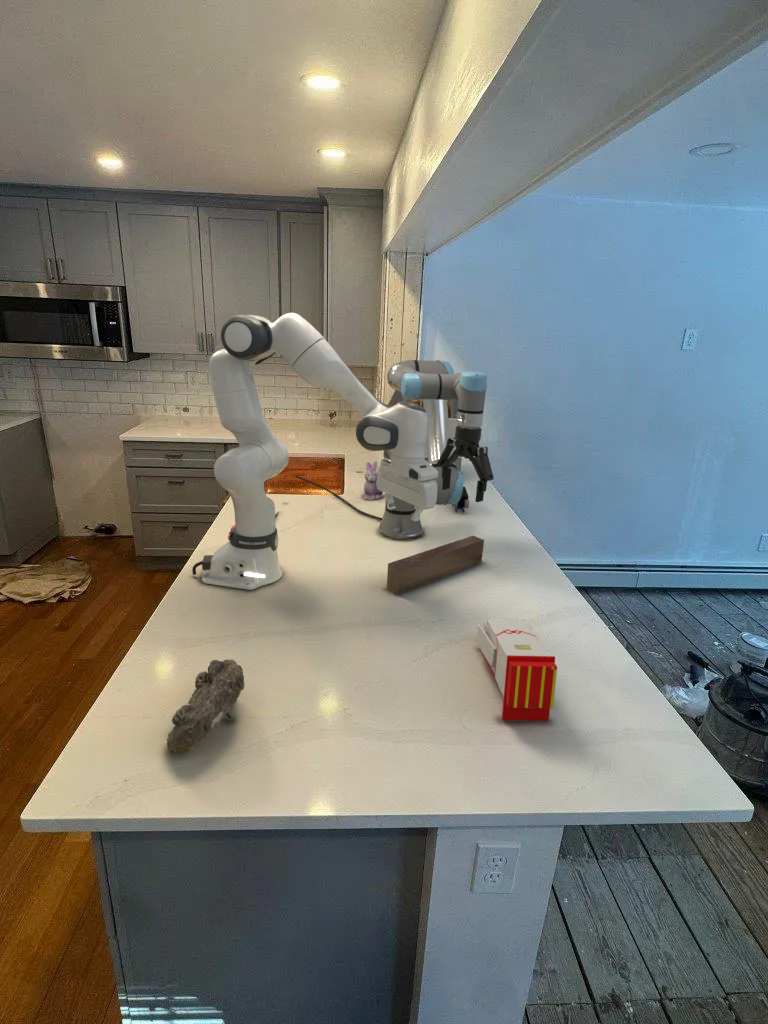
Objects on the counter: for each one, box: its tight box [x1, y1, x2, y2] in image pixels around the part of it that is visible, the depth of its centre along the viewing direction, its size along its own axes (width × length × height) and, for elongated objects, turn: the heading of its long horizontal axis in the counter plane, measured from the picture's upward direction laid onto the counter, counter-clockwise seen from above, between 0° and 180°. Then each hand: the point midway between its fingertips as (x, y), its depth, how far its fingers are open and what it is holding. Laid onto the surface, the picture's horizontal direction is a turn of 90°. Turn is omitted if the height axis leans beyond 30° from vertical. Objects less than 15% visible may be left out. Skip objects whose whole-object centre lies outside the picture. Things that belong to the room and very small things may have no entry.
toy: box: [475, 618, 558, 722], centre depth 122 cm, size 12×13×30 cm
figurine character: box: [451, 485, 470, 513], centre depth 227 cm, size 7×8×15 cm
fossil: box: [166, 658, 245, 754], centre depth 106 cm, size 22×10×15 cm
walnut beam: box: [386, 535, 485, 596], centre depth 169 cm, size 4×36×8 cm, turn 131°
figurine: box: [363, 460, 384, 501], centre depth 235 cm, size 9×10×15 cm
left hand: (402, 514), depth 153 cm, fingers open, 8 cm apart
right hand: (462, 495), depth 173 cm, fingers open, 13 cm apart
